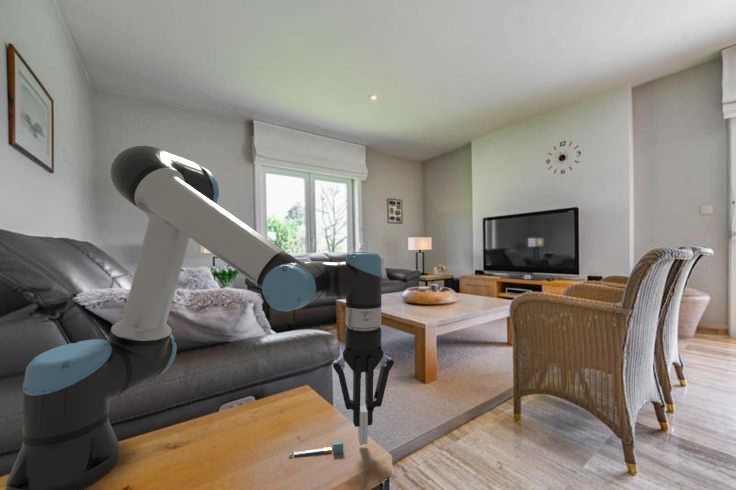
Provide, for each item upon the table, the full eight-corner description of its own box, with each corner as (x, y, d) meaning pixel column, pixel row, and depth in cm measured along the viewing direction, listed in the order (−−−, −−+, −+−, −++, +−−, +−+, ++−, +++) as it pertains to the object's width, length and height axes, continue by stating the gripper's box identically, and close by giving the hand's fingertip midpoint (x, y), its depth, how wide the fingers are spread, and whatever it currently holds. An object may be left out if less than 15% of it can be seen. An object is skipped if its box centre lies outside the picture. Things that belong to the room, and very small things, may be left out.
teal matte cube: (333, 460, 61) (333, 444, 61) (332, 454, 63) (332, 439, 63) (343, 459, 62) (343, 443, 62) (342, 453, 63) (342, 438, 64)
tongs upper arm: (289, 459, 60) (289, 455, 60) (289, 455, 61) (289, 452, 61) (331, 453, 62) (331, 450, 62) (331, 450, 63) (331, 446, 63)
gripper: (333, 332, 59) (332, 456, 59) (398, 329, 62) (398, 448, 61) (330, 323, 66) (329, 433, 66) (389, 321, 69) (388, 427, 68)
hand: (362, 440), depth 63 cm, fingers closed
